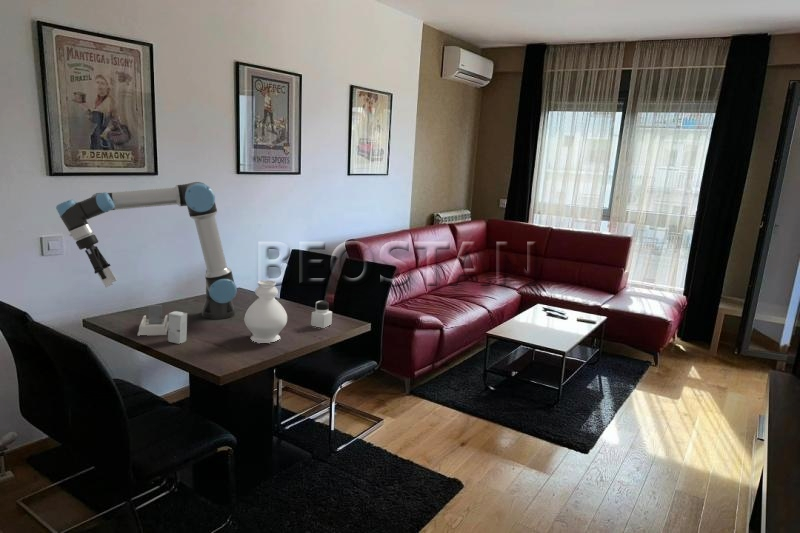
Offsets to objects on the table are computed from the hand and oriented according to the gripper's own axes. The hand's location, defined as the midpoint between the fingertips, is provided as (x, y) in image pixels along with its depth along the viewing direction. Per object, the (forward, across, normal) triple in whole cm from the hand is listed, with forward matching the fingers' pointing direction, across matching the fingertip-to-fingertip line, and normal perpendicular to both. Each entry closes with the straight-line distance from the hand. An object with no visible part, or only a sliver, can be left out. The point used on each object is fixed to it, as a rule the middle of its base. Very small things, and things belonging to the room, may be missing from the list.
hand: (111, 283), depth 220 cm
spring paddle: (+24, -8, +6) cm, 26 cm away
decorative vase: (+47, +17, +44) cm, 67 cm away
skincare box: (+31, +15, +13) cm, 37 cm away
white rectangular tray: (+25, -3, +5) cm, 26 cm away
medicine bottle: (+58, +4, +70) cm, 91 cm away
